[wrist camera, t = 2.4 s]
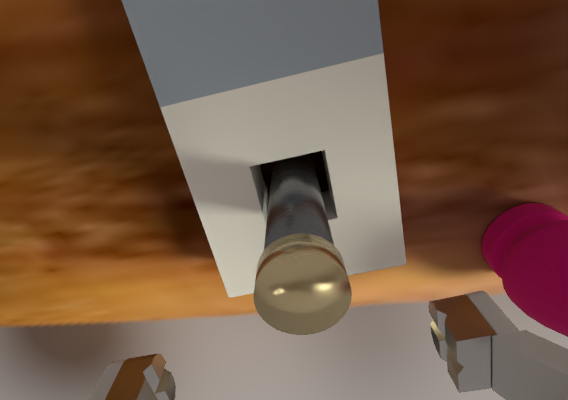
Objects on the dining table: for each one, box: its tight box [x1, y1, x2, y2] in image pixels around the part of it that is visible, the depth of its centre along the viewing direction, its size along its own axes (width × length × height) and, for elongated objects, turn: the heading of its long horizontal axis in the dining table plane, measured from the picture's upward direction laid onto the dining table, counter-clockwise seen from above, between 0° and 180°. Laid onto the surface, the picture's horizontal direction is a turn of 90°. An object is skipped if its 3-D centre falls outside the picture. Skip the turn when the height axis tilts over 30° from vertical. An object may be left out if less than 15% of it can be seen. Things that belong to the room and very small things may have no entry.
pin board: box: [122, 0, 406, 298], centre depth 21 cm, size 12×26×4 cm, turn 13°
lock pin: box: [254, 154, 352, 335], centre depth 19 cm, size 3×3×14 cm
